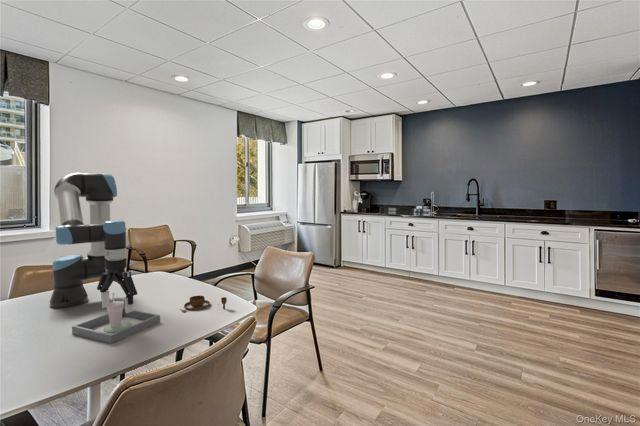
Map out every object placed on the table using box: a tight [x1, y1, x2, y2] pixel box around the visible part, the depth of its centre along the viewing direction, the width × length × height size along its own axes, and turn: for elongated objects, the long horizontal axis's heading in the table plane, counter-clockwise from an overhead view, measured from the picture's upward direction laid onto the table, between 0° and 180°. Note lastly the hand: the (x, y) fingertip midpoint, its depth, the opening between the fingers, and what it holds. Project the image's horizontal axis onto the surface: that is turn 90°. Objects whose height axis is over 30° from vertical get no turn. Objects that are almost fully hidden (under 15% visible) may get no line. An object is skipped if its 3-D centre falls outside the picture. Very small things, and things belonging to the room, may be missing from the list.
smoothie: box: [106, 292, 125, 328], centre depth 135 cm, size 6×6×14 cm
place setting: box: [179, 295, 228, 313], centre depth 158 cm, size 18×20×6 cm
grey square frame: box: [71, 307, 161, 345], centre depth 135 cm, size 22×22×3 cm
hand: (117, 309), depth 135 cm, fingers open, 13 cm apart
